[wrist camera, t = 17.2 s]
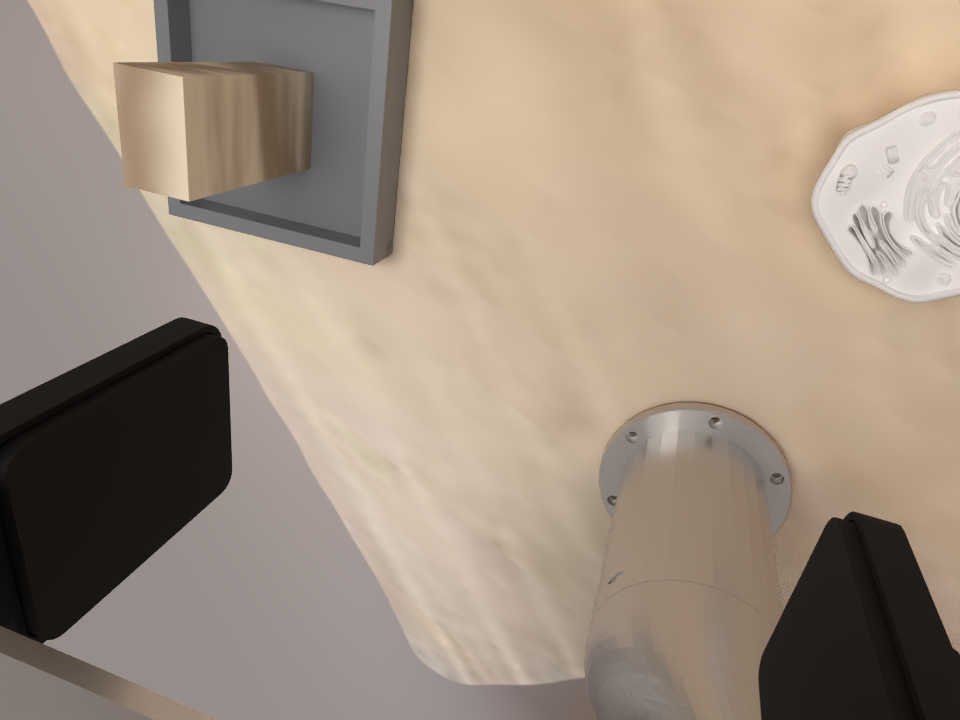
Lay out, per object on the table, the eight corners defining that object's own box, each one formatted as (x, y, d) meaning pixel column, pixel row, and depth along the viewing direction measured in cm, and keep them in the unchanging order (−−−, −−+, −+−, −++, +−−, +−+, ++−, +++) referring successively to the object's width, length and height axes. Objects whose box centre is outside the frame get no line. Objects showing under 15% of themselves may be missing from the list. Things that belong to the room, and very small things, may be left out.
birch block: (313, 72, 42) (182, 77, 31) (310, 168, 44) (189, 201, 34) (258, 61, 43) (113, 62, 32) (258, 156, 45) (124, 185, 35)
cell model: (836, 66, 34) (863, 67, 28) (1104, 98, 32) (1195, 106, 26) (776, 254, 39) (788, 288, 33) (1006, 295, 36) (1064, 342, 30)
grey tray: (391, 254, 46) (372, 265, 44) (197, 205, 50) (169, 214, 47) (413, -4, 39) (392, -8, 36) (184, -40, 42) (150, -46, 40)
